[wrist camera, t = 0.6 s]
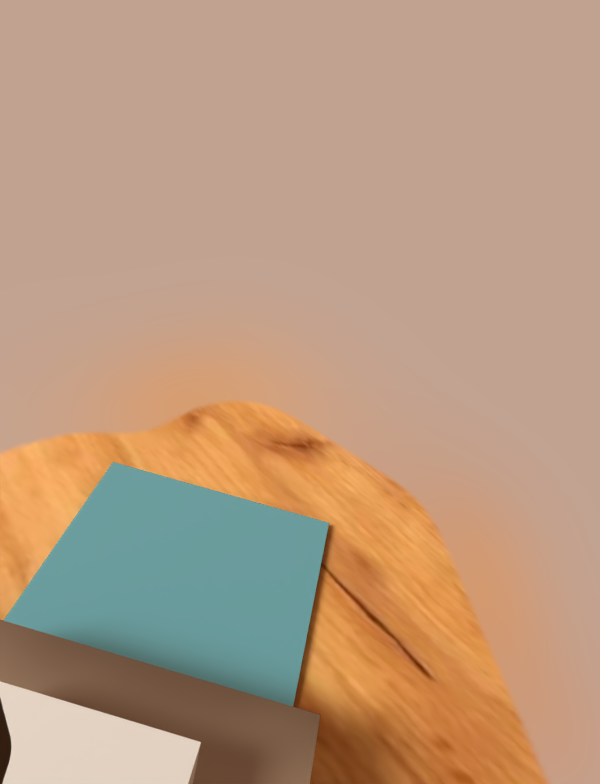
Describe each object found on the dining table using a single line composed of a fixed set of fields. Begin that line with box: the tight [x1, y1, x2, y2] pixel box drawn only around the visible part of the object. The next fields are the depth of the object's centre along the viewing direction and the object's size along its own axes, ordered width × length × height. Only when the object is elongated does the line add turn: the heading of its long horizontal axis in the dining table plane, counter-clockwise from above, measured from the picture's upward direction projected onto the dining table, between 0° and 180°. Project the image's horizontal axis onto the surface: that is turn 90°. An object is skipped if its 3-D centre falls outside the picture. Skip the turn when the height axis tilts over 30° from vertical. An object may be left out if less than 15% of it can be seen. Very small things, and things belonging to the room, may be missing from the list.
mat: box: [4, 462, 329, 706], centre depth 23 cm, size 10×11×1 cm
